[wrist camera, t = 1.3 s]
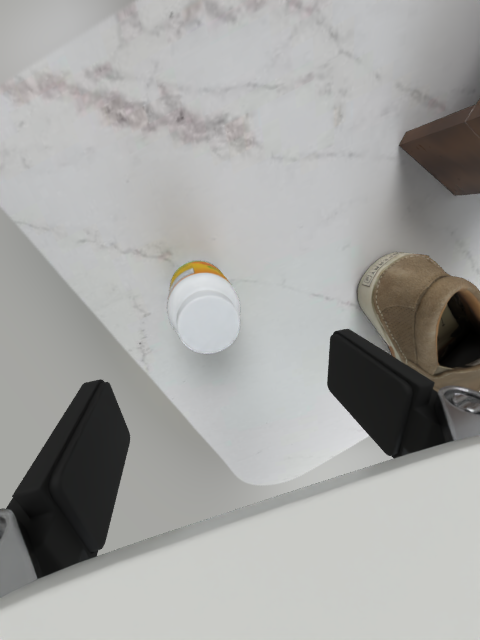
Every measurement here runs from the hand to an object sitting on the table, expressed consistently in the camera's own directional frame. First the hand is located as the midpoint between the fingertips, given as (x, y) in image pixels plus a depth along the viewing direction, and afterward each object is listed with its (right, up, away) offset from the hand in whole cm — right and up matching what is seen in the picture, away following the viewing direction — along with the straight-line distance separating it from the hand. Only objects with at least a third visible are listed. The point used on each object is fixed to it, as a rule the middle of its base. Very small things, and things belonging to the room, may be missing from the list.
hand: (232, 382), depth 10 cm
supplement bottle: (-4, +6, +13) cm, 15 cm away
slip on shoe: (+25, +1, +23) cm, 35 cm away
